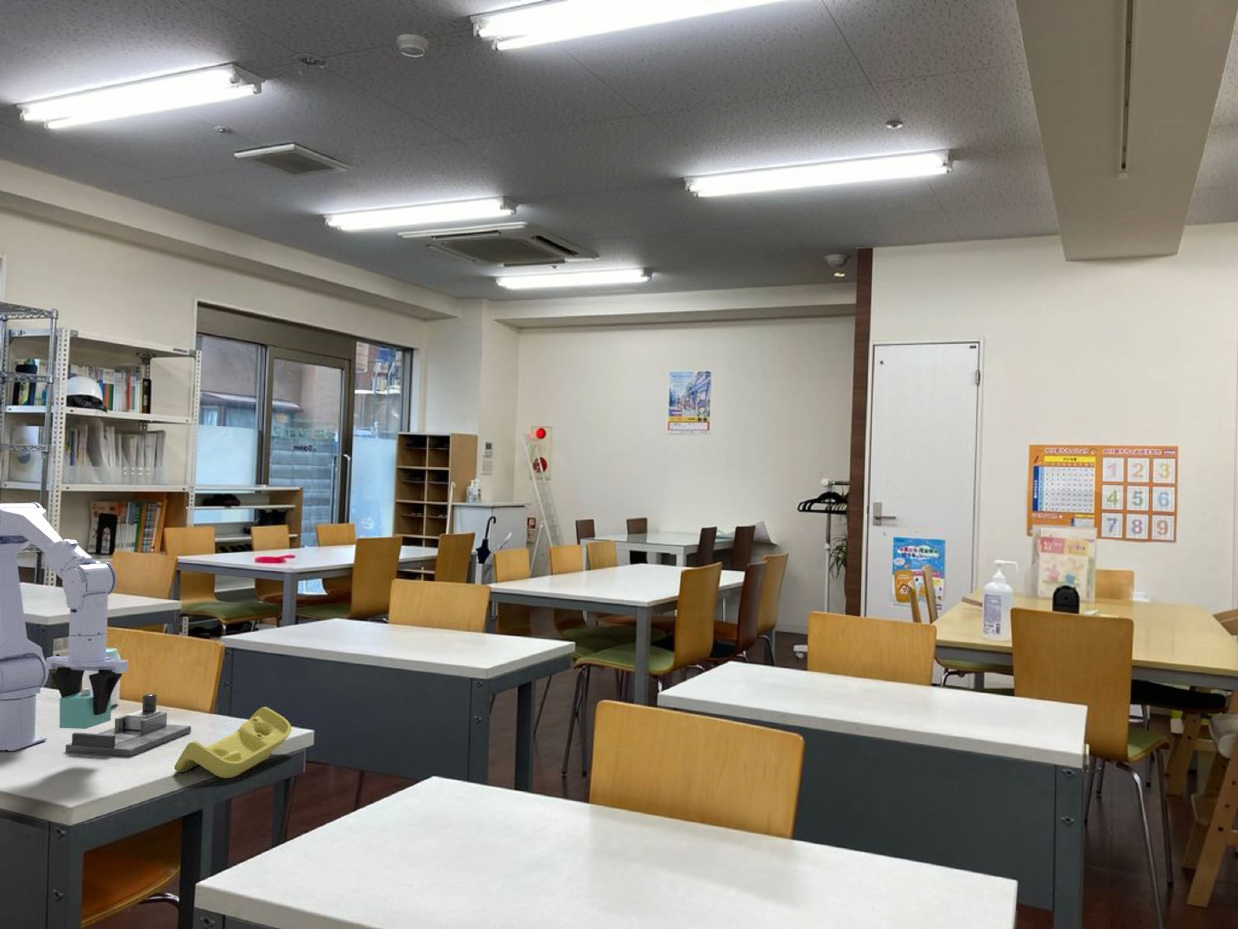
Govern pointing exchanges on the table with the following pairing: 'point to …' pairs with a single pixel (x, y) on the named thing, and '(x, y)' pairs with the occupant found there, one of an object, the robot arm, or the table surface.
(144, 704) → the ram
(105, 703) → the robot arm
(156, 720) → the press bed
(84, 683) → the can
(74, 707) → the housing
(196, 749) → the plastic component
